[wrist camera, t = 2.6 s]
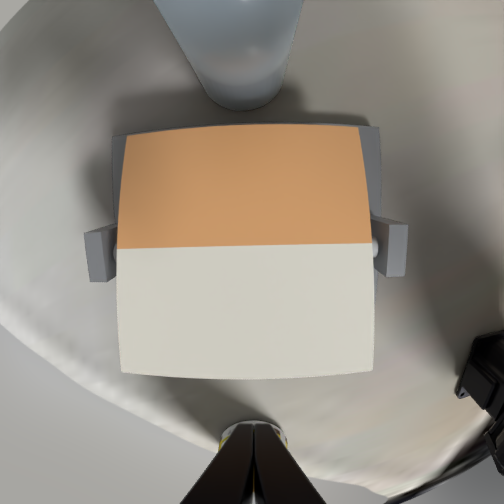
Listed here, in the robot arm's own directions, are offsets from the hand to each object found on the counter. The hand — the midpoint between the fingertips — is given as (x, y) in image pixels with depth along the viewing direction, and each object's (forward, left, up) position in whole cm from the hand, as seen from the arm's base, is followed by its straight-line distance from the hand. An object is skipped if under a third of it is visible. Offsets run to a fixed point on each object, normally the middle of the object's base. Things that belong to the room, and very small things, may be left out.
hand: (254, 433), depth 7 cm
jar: (0, -13, -12) cm, 18 cm away
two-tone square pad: (0, -3, -8) cm, 8 cm away
